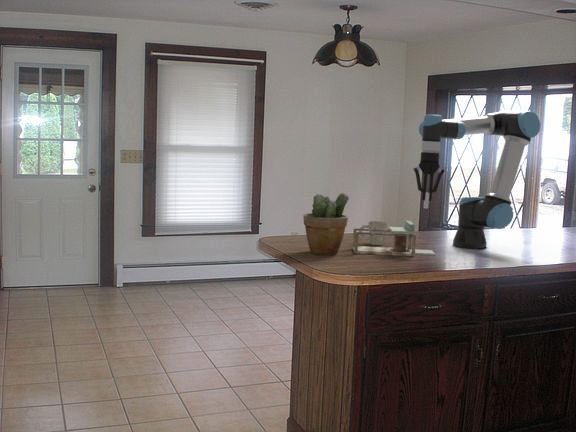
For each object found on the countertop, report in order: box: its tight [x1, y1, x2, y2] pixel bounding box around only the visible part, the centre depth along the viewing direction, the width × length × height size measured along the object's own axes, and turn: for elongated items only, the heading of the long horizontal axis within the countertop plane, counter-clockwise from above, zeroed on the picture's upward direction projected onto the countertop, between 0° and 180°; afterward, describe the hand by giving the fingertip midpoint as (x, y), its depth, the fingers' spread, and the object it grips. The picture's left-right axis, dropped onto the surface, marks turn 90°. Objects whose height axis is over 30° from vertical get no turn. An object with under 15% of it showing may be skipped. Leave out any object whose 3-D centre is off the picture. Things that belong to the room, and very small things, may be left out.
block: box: [393, 236, 408, 252], centre depth 293 cm, size 4×4×8 cm
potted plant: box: [302, 192, 350, 256], centre depth 284 cm, size 18×19×25 cm
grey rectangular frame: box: [351, 227, 417, 257], centre depth 293 cm, size 25×12×9 cm, turn 89°
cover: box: [388, 220, 416, 235], centre depth 292 cm, size 9×12×4 cm
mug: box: [358, 220, 388, 246], centre depth 314 cm, size 8×13×10 cm, turn 78°
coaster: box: [411, 248, 436, 256], centre depth 297 cm, size 9×9×1 cm
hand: (425, 208), depth 290 cm, fingers closed
